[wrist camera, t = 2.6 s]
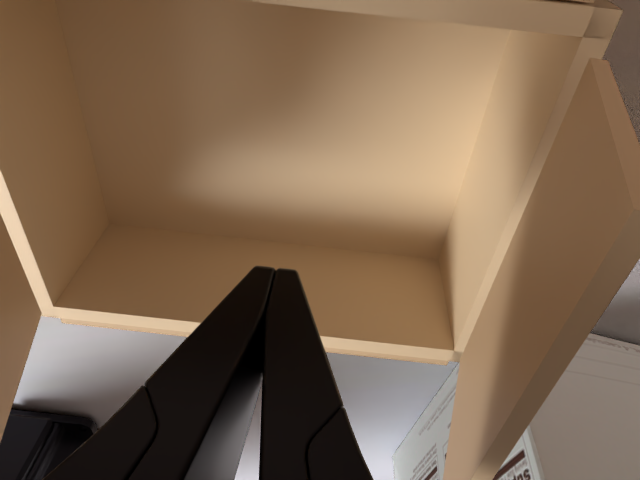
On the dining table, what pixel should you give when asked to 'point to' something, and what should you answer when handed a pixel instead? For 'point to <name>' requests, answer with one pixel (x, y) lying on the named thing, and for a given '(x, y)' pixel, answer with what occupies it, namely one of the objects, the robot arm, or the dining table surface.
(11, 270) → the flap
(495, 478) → the supplement box
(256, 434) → the dining table surface
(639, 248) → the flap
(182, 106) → the carton
